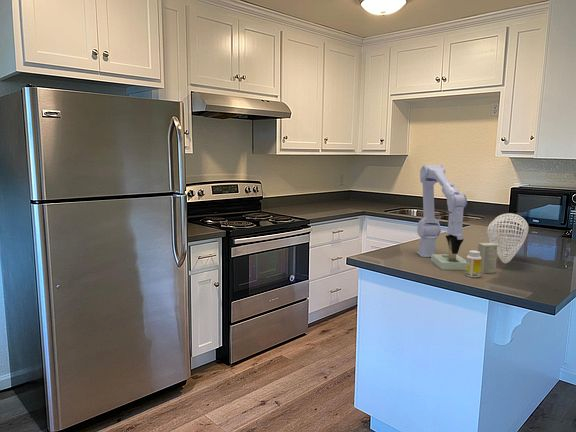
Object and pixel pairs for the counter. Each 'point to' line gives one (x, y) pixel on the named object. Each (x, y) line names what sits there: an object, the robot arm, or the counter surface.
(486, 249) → the skincare box
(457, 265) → the board
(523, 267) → the counter surface
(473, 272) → the supplement bottle
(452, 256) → the dowel
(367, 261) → the counter surface
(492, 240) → the heart
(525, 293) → the counter surface
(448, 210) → the robot arm
